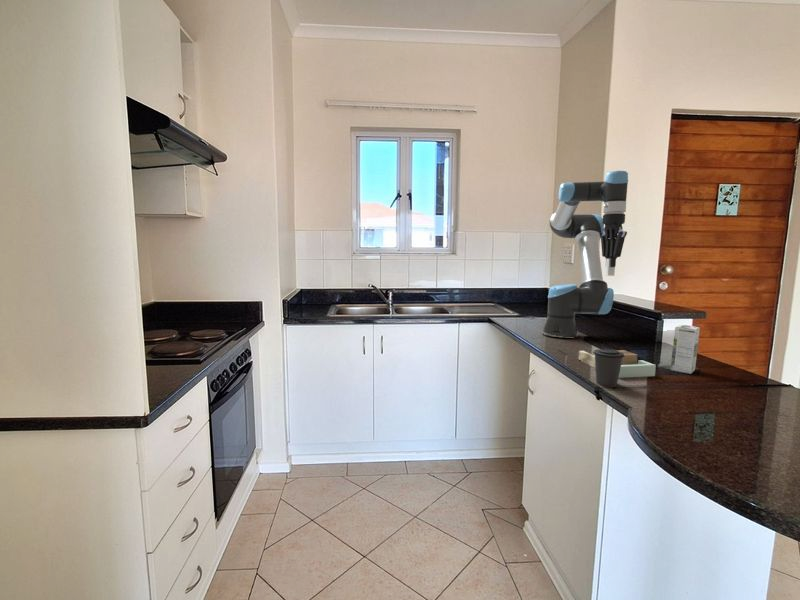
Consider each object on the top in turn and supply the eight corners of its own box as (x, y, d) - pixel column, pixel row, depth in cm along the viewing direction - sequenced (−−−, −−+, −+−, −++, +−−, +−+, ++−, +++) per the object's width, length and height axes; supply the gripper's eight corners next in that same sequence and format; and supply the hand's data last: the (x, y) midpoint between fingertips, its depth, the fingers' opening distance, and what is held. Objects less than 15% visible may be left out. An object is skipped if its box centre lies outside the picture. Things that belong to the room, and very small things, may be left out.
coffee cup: (629, 387, 112) (631, 353, 111) (603, 389, 111) (605, 354, 110) (609, 378, 120) (611, 346, 119) (585, 379, 119) (587, 347, 118)
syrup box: (674, 366, 132) (678, 324, 131) (696, 370, 128) (700, 326, 126) (670, 370, 128) (674, 326, 127) (692, 374, 124) (696, 329, 122)
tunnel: (578, 360, 140) (578, 350, 140) (611, 359, 142) (612, 349, 142) (596, 368, 130) (597, 358, 130) (632, 367, 132) (632, 356, 132)
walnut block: (606, 368, 131) (607, 350, 130) (622, 367, 132) (623, 350, 131) (618, 374, 125) (620, 355, 124) (635, 373, 126) (637, 354, 125)
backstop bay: (604, 372, 126) (605, 361, 126) (641, 370, 128) (642, 360, 128) (616, 377, 121) (617, 366, 120) (654, 376, 123) (655, 365, 122)
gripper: (594, 214, 157) (590, 274, 160) (616, 212, 144) (612, 276, 147) (611, 215, 158) (607, 274, 161) (635, 212, 145) (630, 276, 148)
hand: (609, 275), depth 154 cm, fingers closed
